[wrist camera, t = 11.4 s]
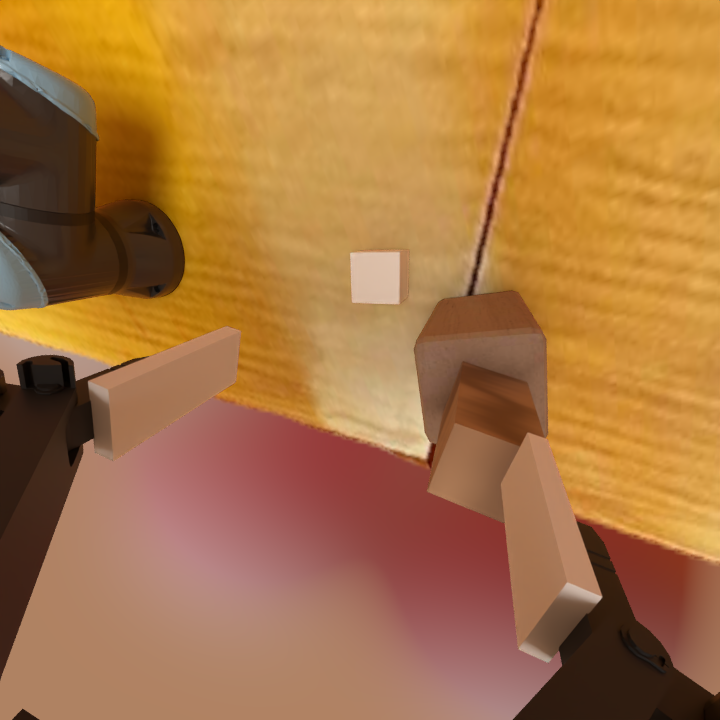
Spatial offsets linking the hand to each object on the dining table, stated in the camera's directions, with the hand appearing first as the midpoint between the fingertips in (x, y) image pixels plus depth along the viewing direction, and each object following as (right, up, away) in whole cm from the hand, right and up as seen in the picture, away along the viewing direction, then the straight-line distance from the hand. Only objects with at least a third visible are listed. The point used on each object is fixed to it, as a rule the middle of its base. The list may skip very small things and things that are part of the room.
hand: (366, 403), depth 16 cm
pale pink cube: (+3, +14, +32) cm, 35 cm away
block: (+15, +6, +31) cm, 35 cm away
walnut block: (+10, -1, +13) cm, 16 cm away
